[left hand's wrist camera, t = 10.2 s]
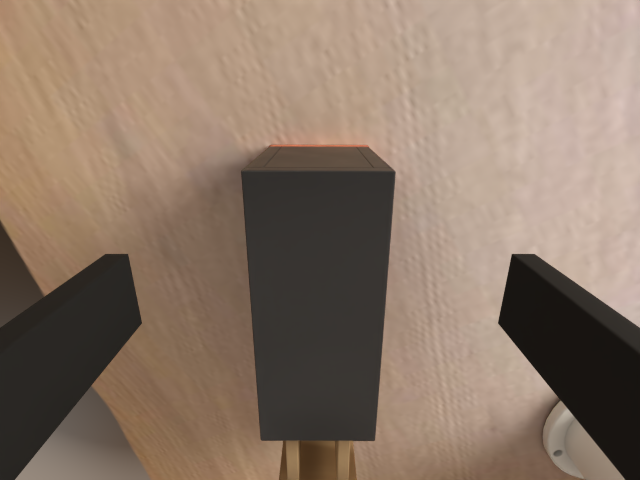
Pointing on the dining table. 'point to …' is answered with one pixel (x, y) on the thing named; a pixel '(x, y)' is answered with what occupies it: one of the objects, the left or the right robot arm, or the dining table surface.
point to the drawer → (317, 460)
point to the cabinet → (318, 287)
